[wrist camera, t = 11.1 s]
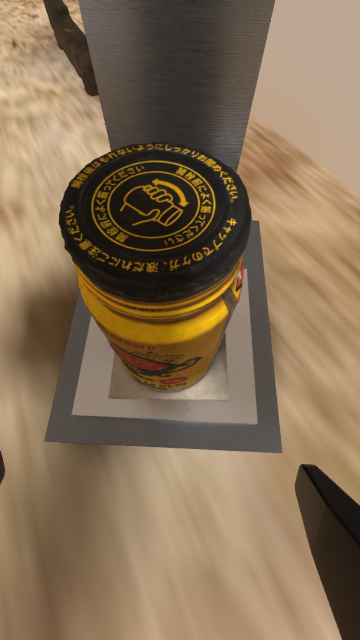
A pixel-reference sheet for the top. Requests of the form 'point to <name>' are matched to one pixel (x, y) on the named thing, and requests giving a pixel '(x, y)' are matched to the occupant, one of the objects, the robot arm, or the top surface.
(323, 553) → the robot arm
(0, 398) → the top surface
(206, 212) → the condiment
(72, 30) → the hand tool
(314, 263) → the top surface
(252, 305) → the coffee machine
